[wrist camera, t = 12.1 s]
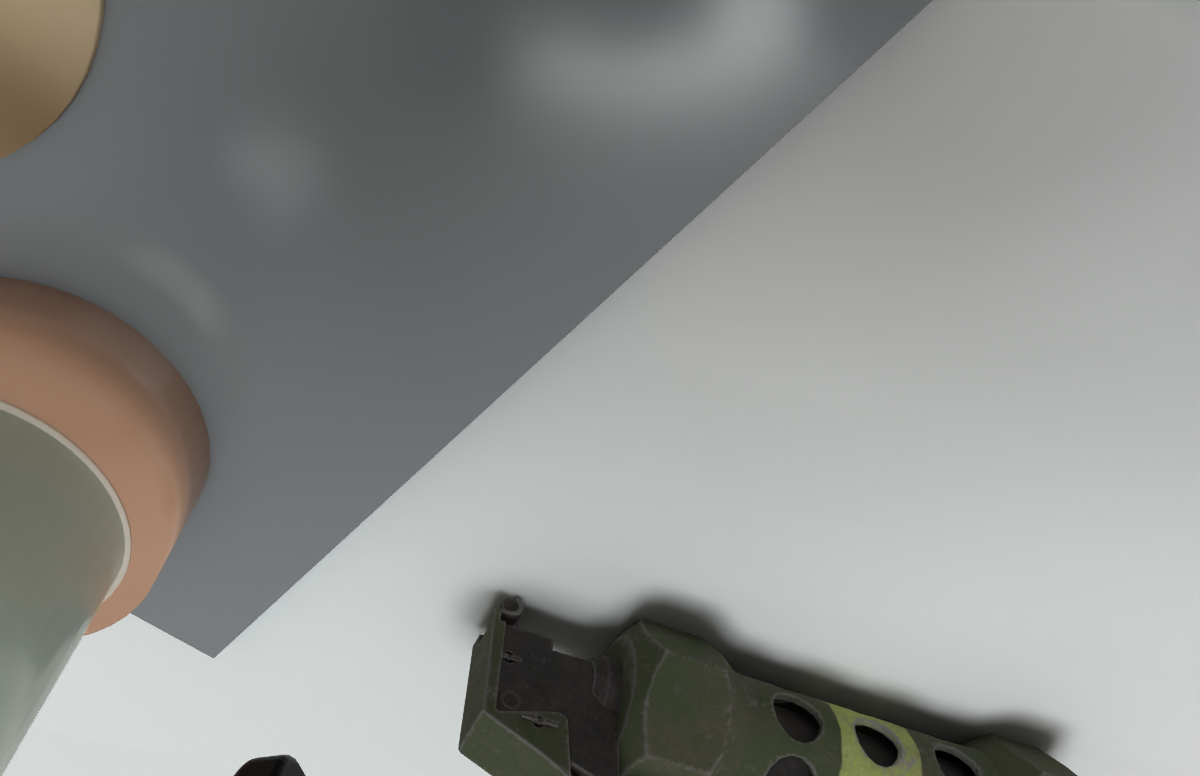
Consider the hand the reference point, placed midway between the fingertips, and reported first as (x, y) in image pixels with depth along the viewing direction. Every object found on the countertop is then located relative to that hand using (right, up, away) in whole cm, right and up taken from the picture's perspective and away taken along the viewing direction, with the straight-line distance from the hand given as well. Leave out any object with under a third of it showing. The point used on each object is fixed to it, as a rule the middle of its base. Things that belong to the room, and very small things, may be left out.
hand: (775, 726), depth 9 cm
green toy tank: (+3, -6, +20) cm, 21 cm away
